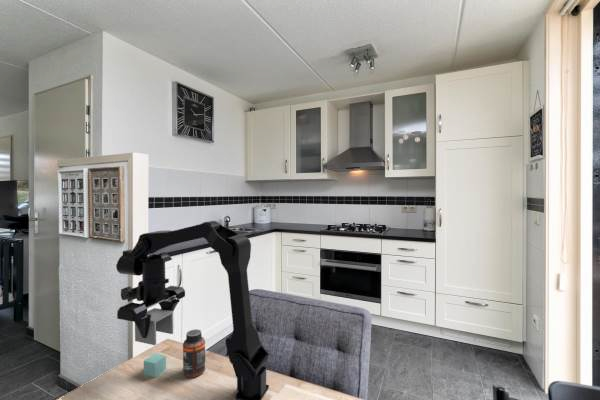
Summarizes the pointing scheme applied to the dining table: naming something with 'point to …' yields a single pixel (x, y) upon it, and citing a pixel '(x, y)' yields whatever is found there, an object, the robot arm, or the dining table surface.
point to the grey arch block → (156, 325)
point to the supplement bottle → (194, 354)
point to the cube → (154, 365)
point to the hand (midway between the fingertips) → (154, 331)
